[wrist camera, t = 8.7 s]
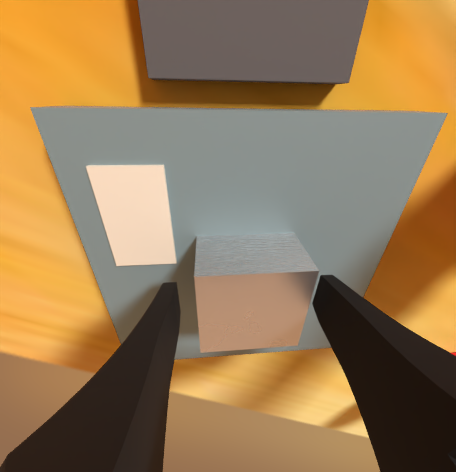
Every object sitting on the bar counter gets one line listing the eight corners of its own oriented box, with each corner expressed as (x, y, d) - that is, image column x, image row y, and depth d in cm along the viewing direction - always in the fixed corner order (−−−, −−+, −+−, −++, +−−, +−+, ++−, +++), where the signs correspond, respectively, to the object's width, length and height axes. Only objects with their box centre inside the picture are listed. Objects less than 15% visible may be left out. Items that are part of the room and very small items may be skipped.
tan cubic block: (282, 215, 13) (319, 270, 9) (272, 279, 16) (297, 345, 12) (197, 218, 13) (193, 276, 9) (201, 283, 16) (200, 352, 11)
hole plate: (409, 111, 11) (452, 113, 9) (328, 325, 19) (341, 349, 17) (61, 105, 10) (26, 107, 8) (135, 337, 18) (127, 365, 16)
